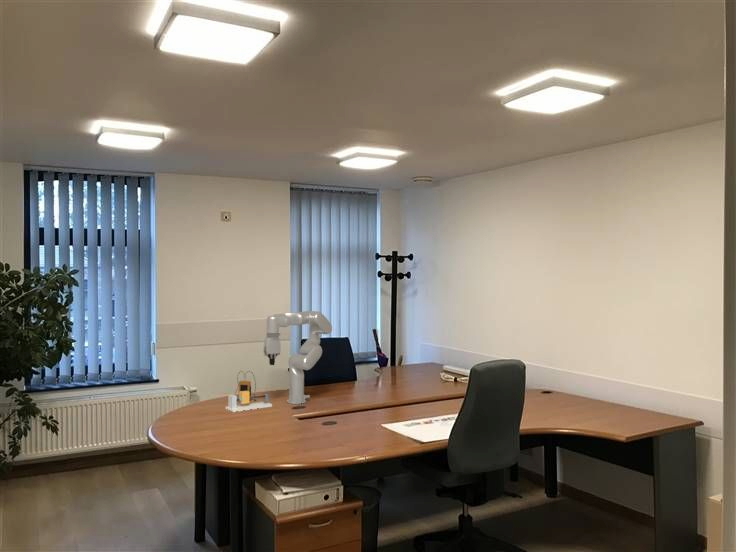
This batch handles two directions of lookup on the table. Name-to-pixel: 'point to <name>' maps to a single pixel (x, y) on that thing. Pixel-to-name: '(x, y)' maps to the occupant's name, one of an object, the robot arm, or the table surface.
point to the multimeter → (245, 385)
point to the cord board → (234, 407)
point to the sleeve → (244, 396)
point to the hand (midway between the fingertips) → (271, 364)
